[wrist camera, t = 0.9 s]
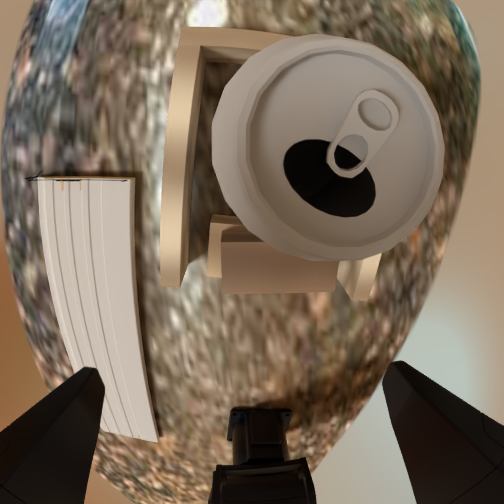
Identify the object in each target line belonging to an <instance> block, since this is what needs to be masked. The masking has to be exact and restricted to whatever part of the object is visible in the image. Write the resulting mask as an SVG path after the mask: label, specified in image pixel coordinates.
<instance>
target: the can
mask: <svg viewBox="0 0 504 504" xmlns="http://www.w3.org/2000/svg"><path fill="white" fill-rule="evenodd" d="M444 151H445V145H444V140H443V134H442V129H441V124H440V120H439V115H438V113H437V111H436V109H435V107H434V105H433V103H432V101H431V99H430V97H429V95H428V93H427V91H426V89H425V87H424V85H423V84H422V83H421V82H420V81H419V80H418V79H417V78H416V76H415V75H414V74H413V73H412V72H411V71H410V70H409V69H408V68H407V67H406V66H405V65H404V64H403V63H402V62H401V61H400V60H399V59H397V58H395V57H394V56H392V55H390V54H389V53H387V52H385V51H383V50H382V49H380V48H378V47H376V46H375V45H373V44H371V43H367V42H362V41H358V40H353V39H348V38H343V37H338V36H331V35H325V34H311V35H304V36H298V37H292V38H286V39H281V40H280V41H278V42H276V43H274V44H272V45H270V46H268V47H267V48H265V49H263V50H261V51H260V52H258V53H256V54H254V55H253V56H251V57H249V58H248V60H247V61H246V62H245V63H244V64H243V65H242V67H241V68H240V69H239V70H238V71H237V72H236V74H235V75H234V76H233V77H232V78H231V80H230V81H229V82H228V83H227V85H226V86H225V87H224V90H223V93H222V96H221V99H220V101H219V104H218V107H217V110H216V113H215V116H214V119H213V122H212V164H213V167H214V170H215V173H216V176H217V179H218V182H219V184H220V187H221V190H222V193H223V196H224V199H225V201H226V202H227V203H228V205H229V206H230V207H231V209H232V210H233V211H234V213H235V214H236V215H237V216H238V218H239V219H240V220H241V222H242V223H243V224H244V226H245V227H246V228H247V229H248V231H250V232H251V233H253V234H254V235H256V236H257V237H259V238H260V239H261V240H263V241H264V242H266V243H267V244H269V245H270V246H272V247H273V248H275V249H276V250H277V251H280V252H283V253H286V254H290V255H293V256H297V257H300V258H303V259H307V260H310V261H349V260H363V259H366V258H368V257H371V256H374V255H377V254H380V253H382V252H385V251H388V250H390V249H392V248H393V247H394V246H396V245H397V244H398V243H400V242H401V241H402V240H404V239H405V238H406V237H408V236H409V235H410V234H411V233H413V232H414V231H415V229H416V228H417V227H418V225H419V224H420V223H421V221H422V220H423V219H424V217H425V216H426V214H427V213H428V212H429V210H430V209H431V207H432V205H433V203H434V200H435V197H436V195H437V192H438V189H439V186H440V183H441V181H442V177H443V165H444Z"/></svg>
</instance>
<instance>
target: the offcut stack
mask: <svg viewBox="0 0 504 504" xmlns="http://www.w3.org/2000/svg"><path fill="white" fill-rule="evenodd" d="M338 267H339V261H310V260H307V259H303V258H300V257H297V256H293V255H290V254H286V253H283V252H280V251H277V250H276V249H275V248H273V247H272V246H270V245H269V244H267V243H266V242H264V241H263V240H261V239H260V238H259V237H257V236H256V235H254V234H253V233H251V232H250V231H248V229H247V228H246V227H245V226H244V224H243V223H242V222H241V220H240V219H239V218H238V217H237V216H227V215H216V214H213V215H212V218H211V222H210V233H209V247H208V262H207V276H208V277H219V278H222V294H269V293H305V292H330V291H335V287H336V280H337V273H338Z"/></svg>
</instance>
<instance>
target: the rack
mask: <svg viewBox="0 0 504 504" xmlns="http://www.w3.org/2000/svg"><path fill="white" fill-rule="evenodd" d="M292 37H293V36H288V35H282V34H276V33H269V32H262V31H253V30H244V29H233V28H217V27H182V29H181V34H180V39H179V44H178V49H177V55H176V61H175V67H174V73H173V80H172V87H171V94H170V102H169V110H168V119H167V128H166V138H165V149H164V162H163V177H162V196H161V228H160V275H161V286H165V287H174V288H180V286H181V283H182V280H183V277H184V275H185V272H186V269H187V266H188V252H189V230H190V213H191V198H192V184H193V172H194V160H195V150H196V140H197V131H198V122H199V113H200V105H201V98H202V90H203V83H204V76H205V69H206V63H207V62H219V63H232V64H244V63H245V62H246V61H247V60H248V58H249V57H251V56H253V55H254V54H256V53H258V52H260V51H261V50H263V49H265V48H267V47H268V46H270V45H272V44H274V43H276V42H278V41H280V40H281V39H286V38H292ZM381 254H382V253H380V254H377V255H374V256H371V257H368V258H366V259H363V260H349V261H340V263H339V267H338V273H337V279H338V280H339V282H340V283H341V285H342V286H343V288H344V289H345V290H346V292H347V293H348V295H349V296H350V298H351V299H352V300H362V301H367V300H368V297H369V294H370V291H371V288H372V285H373V282H374V278H375V275H376V272H377V268H378V265H379V261H380V258H381Z"/></svg>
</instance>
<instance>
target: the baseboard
mask: <svg viewBox="0 0 504 504" xmlns="http://www.w3.org/2000/svg"><path fill="white" fill-rule="evenodd" d="M36 177H38V198H39V213H40V224H41V234H42V242H43V249H44V256H45V263H46V269H47V274H48V279H49V284H50V289H51V294H52V298H53V303H54V307H55V311H56V315H57V319H58V323H59V326H60V330H61V333H62V337H63V340H64V343H65V346H66V350H67V353H68V356H69V359H70V362H71V364H72V367H73V370H74V373H76V372H78V371H79V370H80V369H81V368H83V367H85V366H88V367H94V368H96V369H97V370H98V371H99V374H100V376H101V378H102V380H103V383H104V385H105V397H104V403H103V409H102V416H101V423H100V427H102V429H103V430H104V431H106V432H112V433H116V434H118V435H125V436H129V437H132V438H139V439H142V440H147V441H153V442H159V433H158V429H157V425H156V420H155V416H154V411H153V406H152V401H151V395H150V390H149V384H148V378H147V372H146V366H145V359H144V352H143V345H142V337H141V328H140V319H139V308H138V296H137V282H136V264H135V228H134V210H135V177H98V176H56V177H39V176H35V177H32V178H36ZM32 178H31V177H28V178H25V179H31V180H28V181H34V180H33V179H32Z"/></svg>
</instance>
